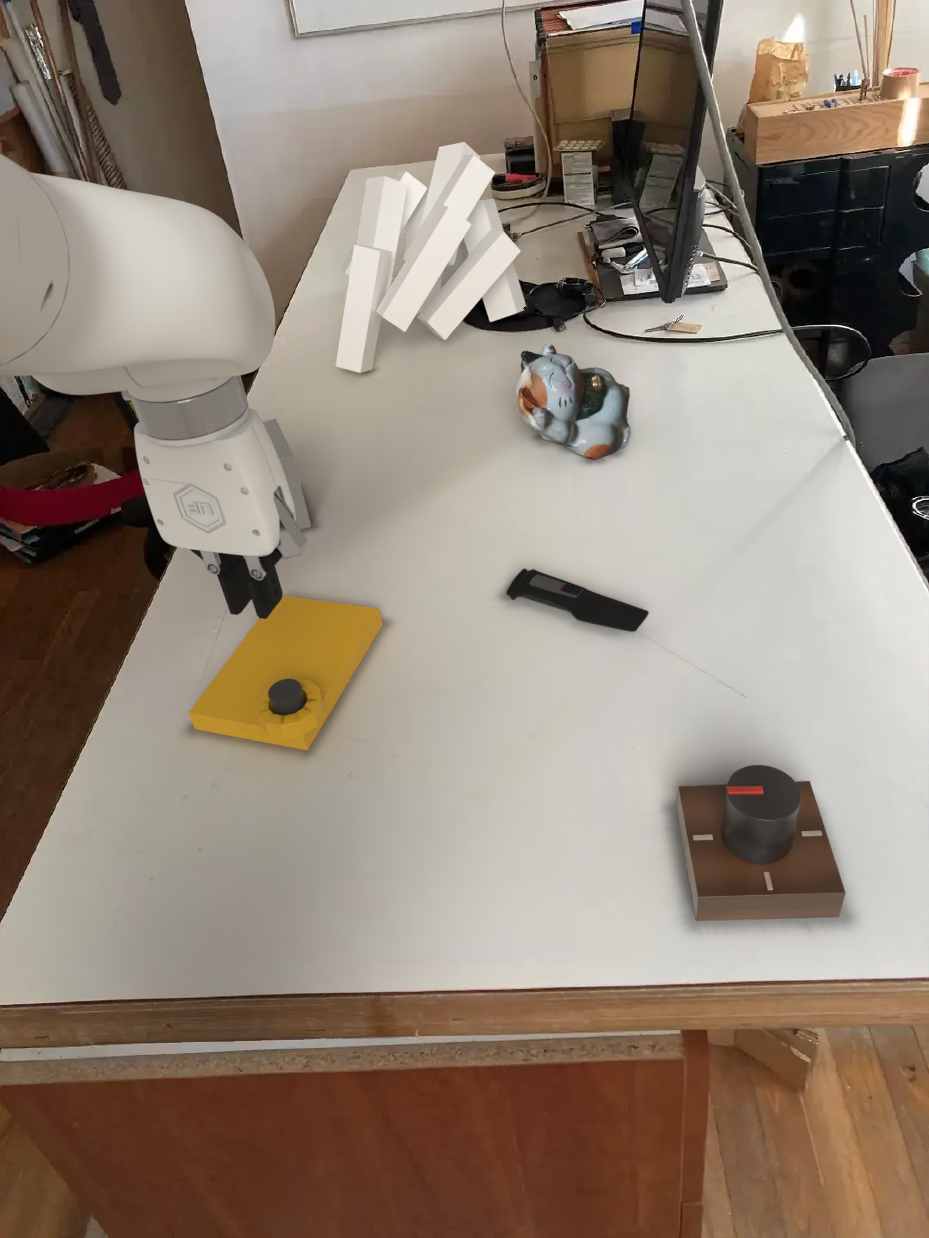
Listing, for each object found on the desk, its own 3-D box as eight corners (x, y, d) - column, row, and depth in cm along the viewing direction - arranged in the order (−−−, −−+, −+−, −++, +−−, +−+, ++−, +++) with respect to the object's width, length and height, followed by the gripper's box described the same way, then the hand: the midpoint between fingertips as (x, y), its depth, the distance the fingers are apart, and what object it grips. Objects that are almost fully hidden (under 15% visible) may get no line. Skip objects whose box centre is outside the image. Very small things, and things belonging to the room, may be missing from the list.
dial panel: (839, 917, 66) (846, 891, 64) (695, 921, 67) (698, 895, 65) (805, 805, 73) (810, 779, 71) (676, 810, 74) (678, 784, 72)
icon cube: (294, 488, 120) (275, 418, 114) (311, 526, 113) (292, 454, 106) (217, 509, 118) (194, 439, 112) (230, 550, 111) (206, 477, 104)
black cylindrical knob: (296, 718, 82) (291, 704, 81) (266, 713, 83) (261, 699, 82) (311, 695, 84) (306, 681, 83) (282, 690, 85) (277, 676, 84)
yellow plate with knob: (312, 760, 83) (302, 729, 80) (189, 736, 87) (176, 706, 84) (391, 625, 96) (385, 595, 94) (281, 610, 100) (273, 581, 98)
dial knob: (785, 808, 70) (793, 761, 66) (798, 864, 66) (808, 817, 63) (717, 808, 70) (722, 761, 67) (726, 864, 67) (731, 817, 63)
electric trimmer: (636, 648, 90) (637, 623, 88) (504, 599, 98) (502, 575, 96) (654, 626, 92) (655, 601, 90) (523, 580, 100) (521, 556, 98)
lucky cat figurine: (627, 465, 115) (574, 387, 106) (545, 488, 122) (487, 417, 113) (640, 380, 123) (591, 301, 114) (562, 406, 130) (510, 334, 121)
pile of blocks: (462, 428, 139) (553, 186, 123) (281, 349, 140) (347, 99, 124) (504, 385, 170) (581, 187, 153) (355, 321, 171) (416, 118, 155)
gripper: (66, 421, 65) (151, 623, 76) (265, 436, 60) (324, 649, 71) (128, 373, 70) (199, 569, 82) (315, 383, 65) (362, 589, 77)
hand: (257, 605), depth 76 cm, fingers closed
